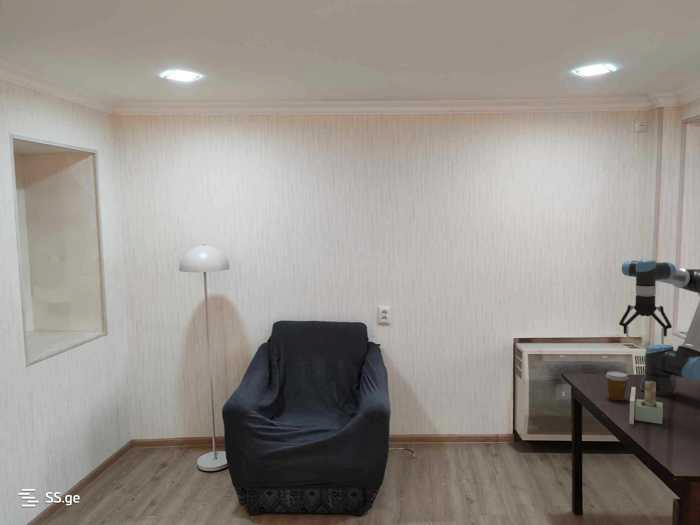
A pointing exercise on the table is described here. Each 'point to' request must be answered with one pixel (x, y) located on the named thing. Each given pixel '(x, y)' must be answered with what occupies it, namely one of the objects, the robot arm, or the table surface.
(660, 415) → the sage green block
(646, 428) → the table surface
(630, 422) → the pale wall board
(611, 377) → the disposable coffee cup
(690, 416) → the table surface
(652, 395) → the birch dowel
